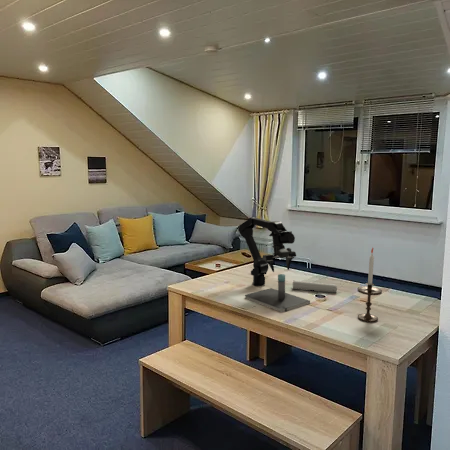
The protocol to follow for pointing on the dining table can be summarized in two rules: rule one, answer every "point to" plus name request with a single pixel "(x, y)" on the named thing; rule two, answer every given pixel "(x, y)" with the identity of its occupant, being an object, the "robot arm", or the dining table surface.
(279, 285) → the ball
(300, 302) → the notebook
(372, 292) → the candlestick
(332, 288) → the tube
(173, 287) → the dining table surface
